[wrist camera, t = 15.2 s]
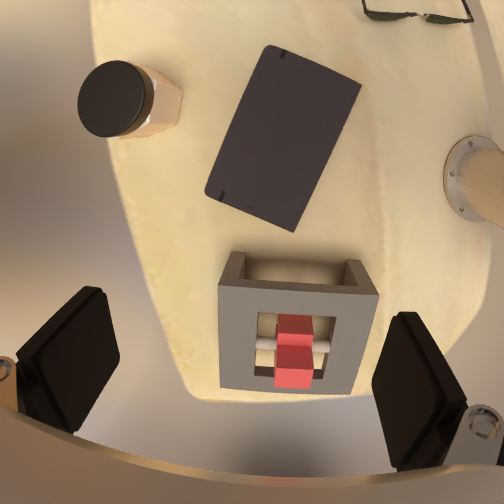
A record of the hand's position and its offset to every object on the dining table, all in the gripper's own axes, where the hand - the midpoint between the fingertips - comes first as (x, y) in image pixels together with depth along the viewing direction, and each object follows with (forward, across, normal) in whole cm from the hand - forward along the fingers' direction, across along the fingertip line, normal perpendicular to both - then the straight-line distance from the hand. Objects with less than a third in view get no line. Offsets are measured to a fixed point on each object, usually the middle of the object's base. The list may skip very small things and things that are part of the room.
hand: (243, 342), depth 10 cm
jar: (+32, +16, -10) cm, 38 cm away
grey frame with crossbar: (+32, -4, +18) cm, 37 cm away
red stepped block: (+30, -4, +18) cm, 35 cm away
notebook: (+33, -1, -6) cm, 34 cm away
